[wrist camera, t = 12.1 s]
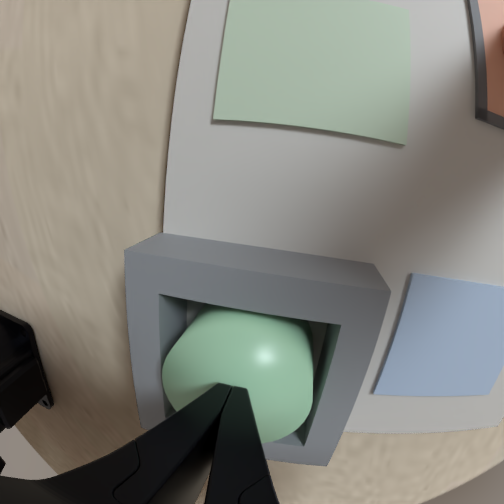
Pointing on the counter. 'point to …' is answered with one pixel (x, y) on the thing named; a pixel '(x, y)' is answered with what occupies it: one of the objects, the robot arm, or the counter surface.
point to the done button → (246, 365)
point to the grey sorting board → (338, 207)
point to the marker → (503, 39)
